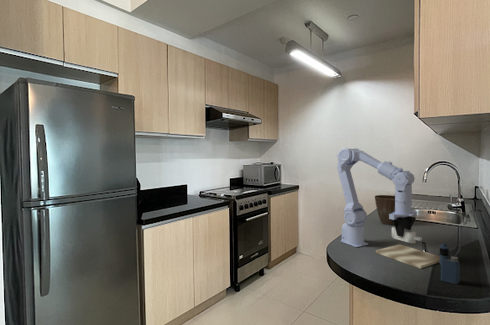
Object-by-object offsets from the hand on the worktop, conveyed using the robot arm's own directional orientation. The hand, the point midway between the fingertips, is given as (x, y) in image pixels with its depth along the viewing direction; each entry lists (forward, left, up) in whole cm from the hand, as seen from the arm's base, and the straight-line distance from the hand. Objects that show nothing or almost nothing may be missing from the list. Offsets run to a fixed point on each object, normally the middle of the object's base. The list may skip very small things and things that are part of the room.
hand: (403, 235), depth 107 cm
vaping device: (+20, -7, -9) cm, 23 cm away
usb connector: (+1, 0, -2) cm, 2 cm away
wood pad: (+1, +3, -9) cm, 9 cm away
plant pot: (-36, +44, -9) cm, 58 cm away
